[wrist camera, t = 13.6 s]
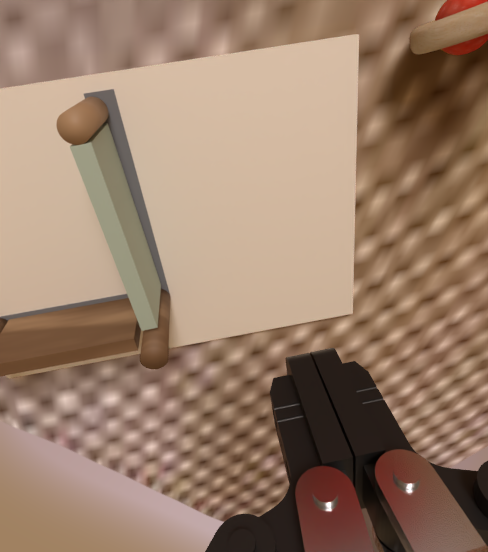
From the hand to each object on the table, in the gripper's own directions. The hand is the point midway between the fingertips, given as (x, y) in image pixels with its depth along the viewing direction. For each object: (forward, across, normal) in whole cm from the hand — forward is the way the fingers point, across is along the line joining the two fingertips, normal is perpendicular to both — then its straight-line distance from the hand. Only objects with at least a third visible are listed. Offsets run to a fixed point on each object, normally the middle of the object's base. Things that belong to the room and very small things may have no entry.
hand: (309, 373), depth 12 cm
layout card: (+22, +7, +4) cm, 24 cm away
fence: (+22, +15, +10) cm, 28 cm away
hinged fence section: (+21, +8, +1) cm, 23 cm away
